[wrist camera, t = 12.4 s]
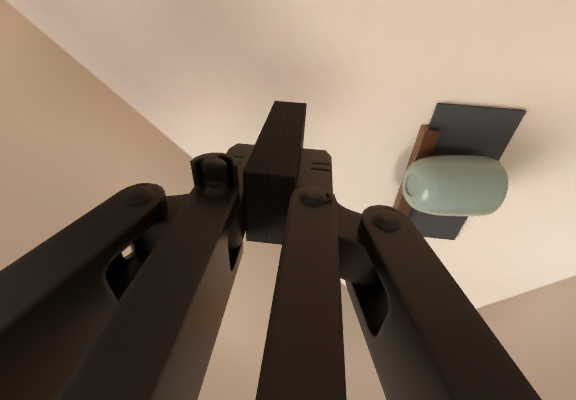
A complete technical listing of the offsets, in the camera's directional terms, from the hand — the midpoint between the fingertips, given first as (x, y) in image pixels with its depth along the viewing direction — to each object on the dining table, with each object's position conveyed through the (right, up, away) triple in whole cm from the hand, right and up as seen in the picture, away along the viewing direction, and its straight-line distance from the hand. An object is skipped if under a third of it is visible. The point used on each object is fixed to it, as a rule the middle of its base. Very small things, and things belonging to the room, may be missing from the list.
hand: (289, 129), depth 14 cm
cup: (+15, -2, +22) cm, 26 cm away
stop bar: (+18, 0, +28) cm, 34 cm away
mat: (+23, -1, +28) cm, 36 cm away
